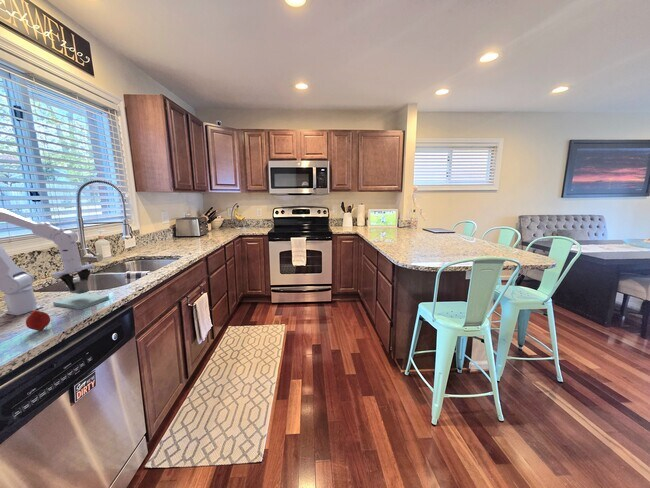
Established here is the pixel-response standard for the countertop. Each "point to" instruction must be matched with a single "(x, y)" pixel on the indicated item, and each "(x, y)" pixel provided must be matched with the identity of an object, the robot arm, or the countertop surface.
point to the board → (81, 300)
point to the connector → (80, 286)
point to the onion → (37, 320)
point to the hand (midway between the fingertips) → (78, 288)
